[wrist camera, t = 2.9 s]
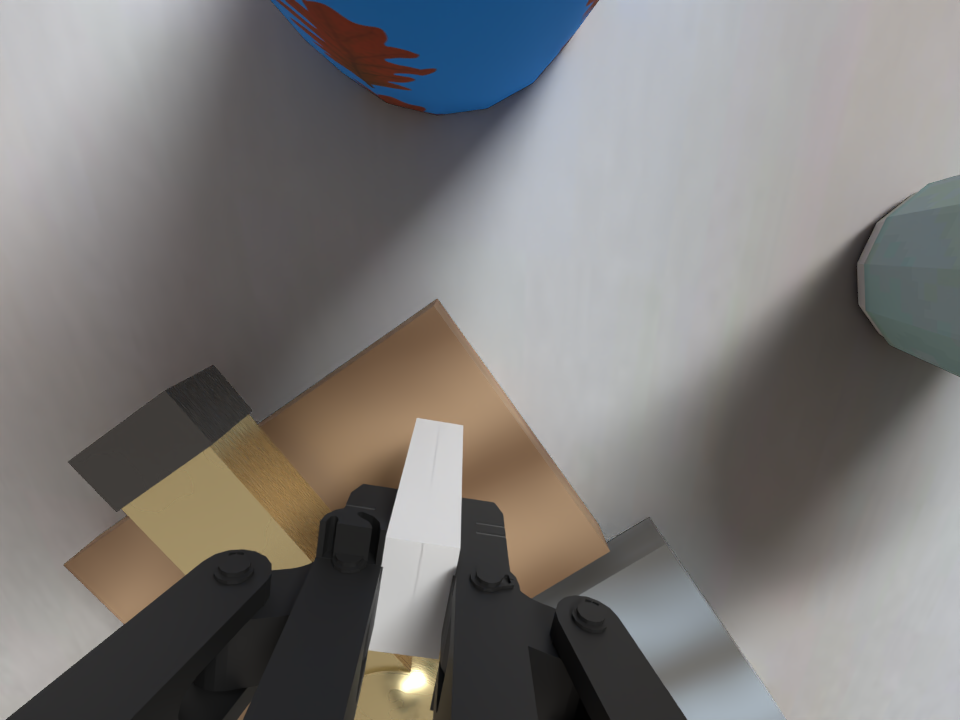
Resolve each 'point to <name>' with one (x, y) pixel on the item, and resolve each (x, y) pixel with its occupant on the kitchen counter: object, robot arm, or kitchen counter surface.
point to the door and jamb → (485, 476)
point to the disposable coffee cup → (917, 275)
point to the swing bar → (231, 507)
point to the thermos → (438, 45)
